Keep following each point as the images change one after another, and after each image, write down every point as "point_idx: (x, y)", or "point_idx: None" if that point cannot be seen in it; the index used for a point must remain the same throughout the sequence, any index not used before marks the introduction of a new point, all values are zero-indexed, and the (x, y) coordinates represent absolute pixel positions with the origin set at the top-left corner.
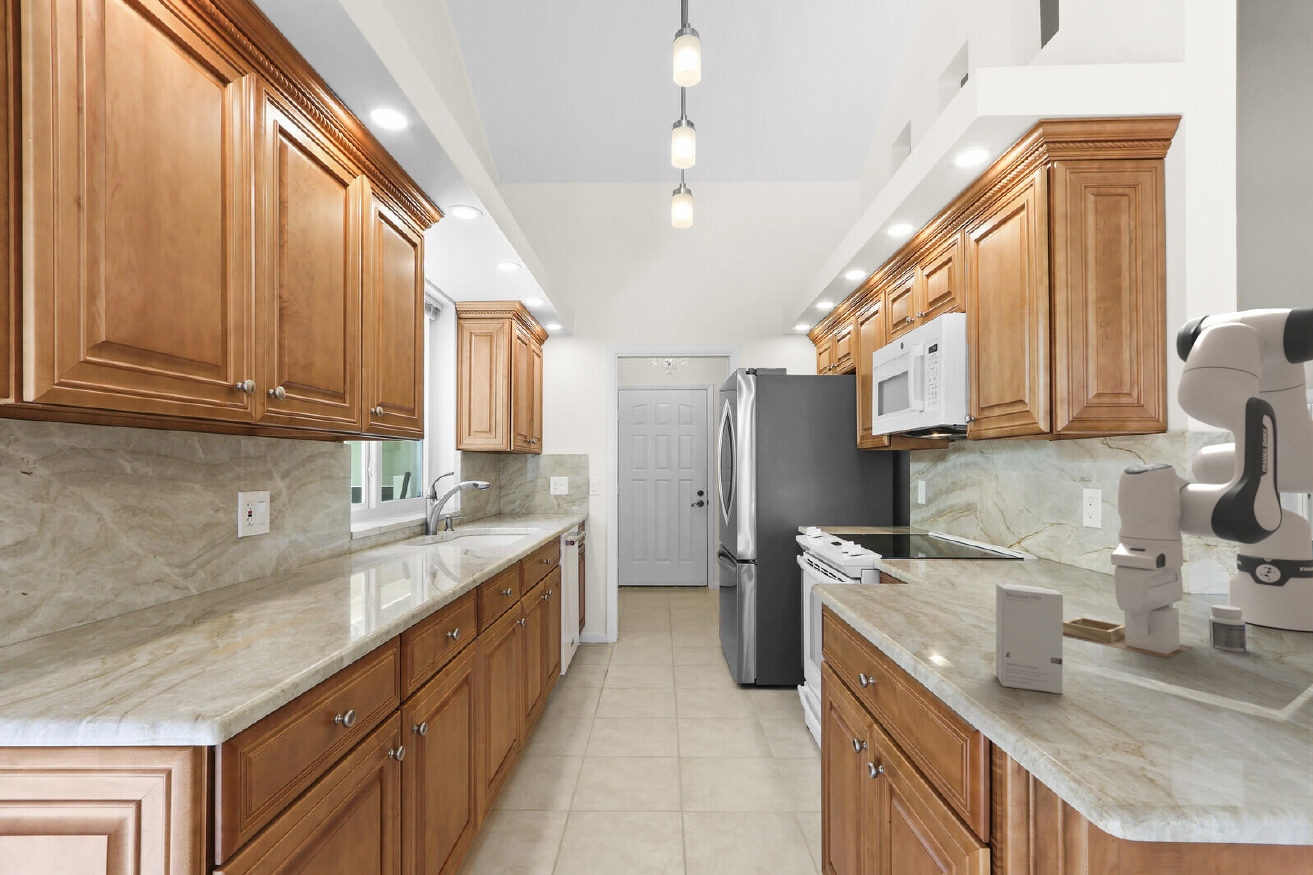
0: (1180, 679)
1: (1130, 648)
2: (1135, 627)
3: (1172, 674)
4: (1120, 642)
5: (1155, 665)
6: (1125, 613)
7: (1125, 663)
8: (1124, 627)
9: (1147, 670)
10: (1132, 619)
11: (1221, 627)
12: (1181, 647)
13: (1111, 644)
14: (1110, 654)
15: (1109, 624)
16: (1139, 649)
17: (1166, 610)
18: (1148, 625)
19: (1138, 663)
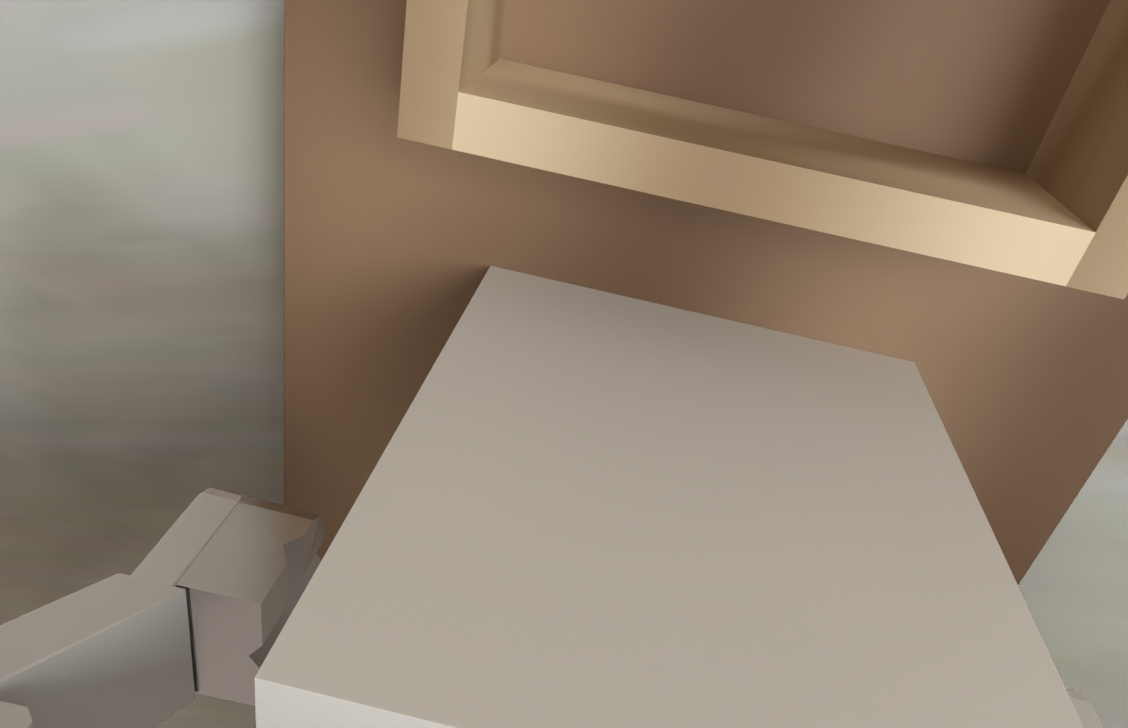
0: (37, 571)
1: (379, 318)
2: (157, 551)
3: (107, 540)
4: (597, 203)
5: (244, 457)
6: (325, 557)
7: (67, 272)
8: (1030, 273)
9: (36, 417)
10: (10, 623)
11: None
12: None
13: (383, 129)
14: (265, 116)
15: None
16: (412, 390)
17: None
18: (248, 696)
19: (177, 356)
